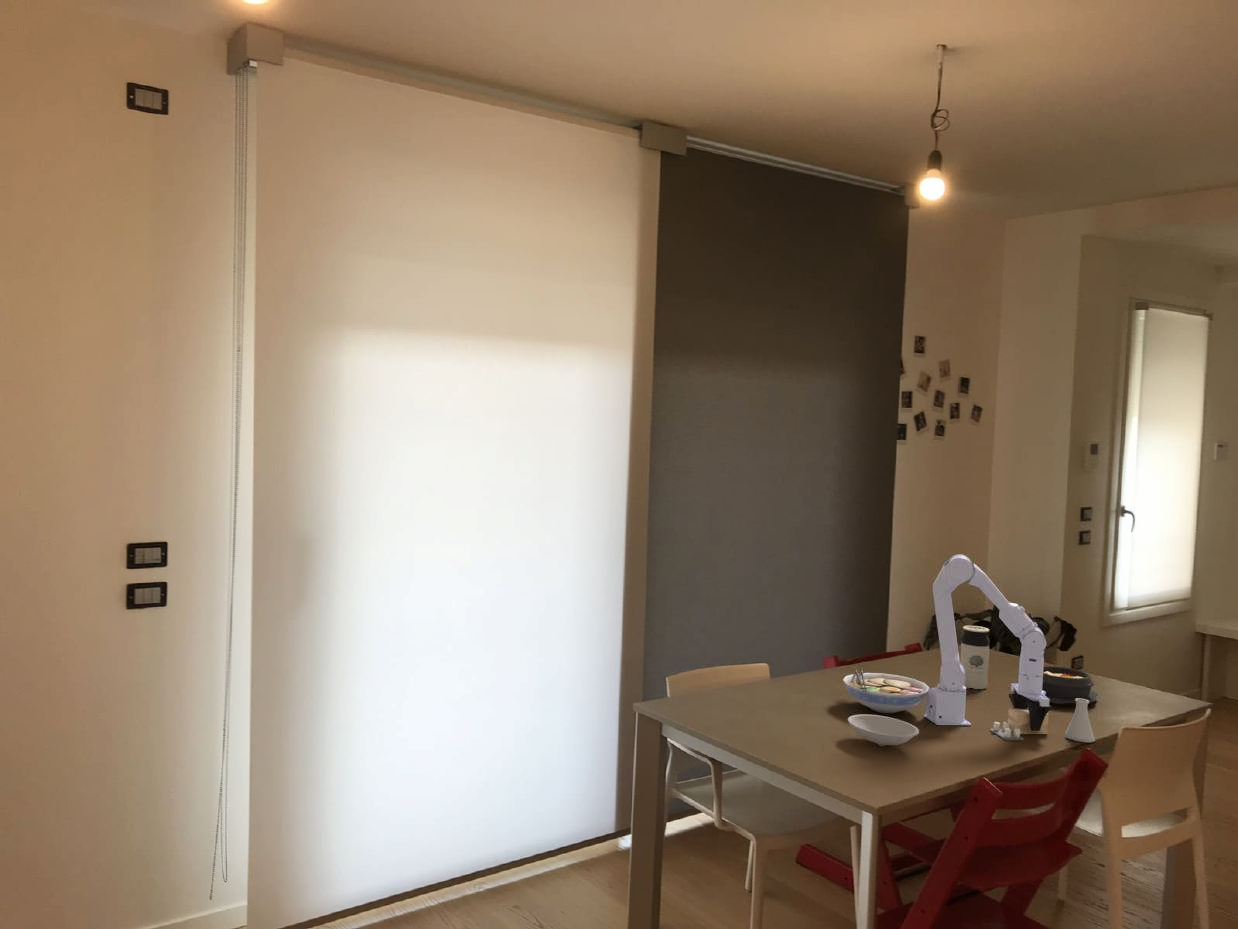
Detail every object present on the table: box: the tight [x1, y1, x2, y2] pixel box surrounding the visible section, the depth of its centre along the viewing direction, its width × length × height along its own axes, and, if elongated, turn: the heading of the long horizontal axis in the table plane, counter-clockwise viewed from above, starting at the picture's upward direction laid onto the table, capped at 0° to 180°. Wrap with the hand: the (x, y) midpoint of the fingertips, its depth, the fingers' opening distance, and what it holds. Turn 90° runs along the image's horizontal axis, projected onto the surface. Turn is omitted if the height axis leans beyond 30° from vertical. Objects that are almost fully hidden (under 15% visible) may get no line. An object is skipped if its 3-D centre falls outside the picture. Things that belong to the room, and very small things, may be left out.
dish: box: [847, 714, 920, 747], centre depth 229 cm, size 18×14×5 cm
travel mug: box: [959, 625, 991, 690], centre depth 289 cm, size 8×8×18 cm
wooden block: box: [1007, 708, 1050, 736], centre depth 245 cm, size 8×4×6 cm, turn 98°
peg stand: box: [989, 721, 1025, 741], centre depth 241 cm, size 5×7×2 cm
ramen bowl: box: [842, 666, 930, 714], centre depth 259 cm, size 25×23×8 cm
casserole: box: [1042, 665, 1099, 706], centre depth 278 cm, size 25×19×8 cm
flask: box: [1064, 698, 1096, 744], centre depth 241 cm, size 7×7×10 cm
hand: (1027, 726), depth 245 cm, fingers open, 6 cm apart
